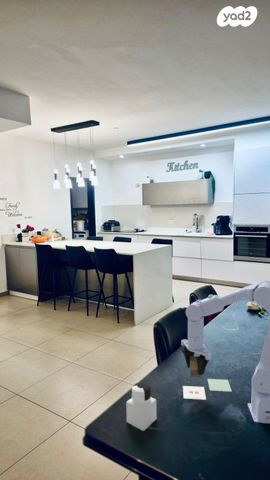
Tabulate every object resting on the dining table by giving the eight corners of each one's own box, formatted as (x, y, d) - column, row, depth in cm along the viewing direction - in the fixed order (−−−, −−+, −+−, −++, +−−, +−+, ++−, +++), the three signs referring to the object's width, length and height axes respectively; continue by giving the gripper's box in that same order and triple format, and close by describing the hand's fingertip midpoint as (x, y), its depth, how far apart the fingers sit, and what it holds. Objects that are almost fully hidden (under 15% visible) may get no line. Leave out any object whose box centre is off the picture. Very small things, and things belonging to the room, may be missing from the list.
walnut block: (201, 377, 114) (201, 361, 113) (190, 376, 114) (190, 361, 114) (200, 371, 118) (200, 356, 117) (189, 371, 118) (189, 356, 118)
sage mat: (231, 392, 117) (231, 391, 117) (209, 391, 118) (209, 390, 118) (227, 380, 125) (227, 379, 125) (207, 379, 126) (207, 378, 126)
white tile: (206, 400, 112) (206, 399, 112) (183, 399, 113) (183, 398, 113) (203, 388, 120) (203, 386, 120) (182, 386, 121) (182, 385, 121)
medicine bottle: (139, 411, 107) (139, 377, 106) (156, 419, 102) (156, 385, 101) (126, 422, 101) (125, 387, 100) (143, 432, 97) (143, 395, 96)
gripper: (218, 339, 110) (217, 376, 112) (191, 326, 123) (191, 359, 124) (203, 344, 107) (202, 382, 108) (176, 330, 119) (176, 364, 121)
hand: (195, 370), depth 116 cm, fingers closed on walnut block, 6 cm apart
